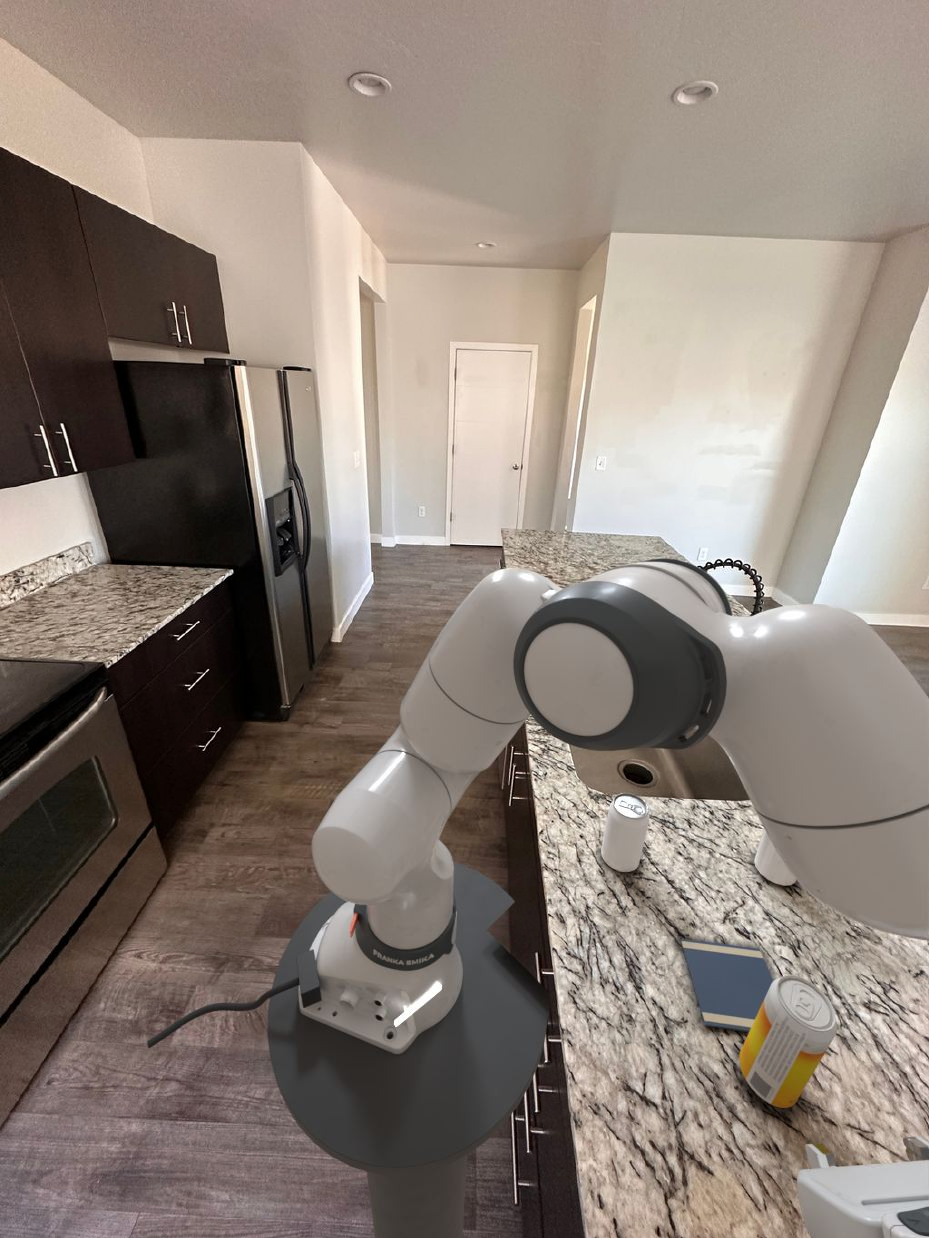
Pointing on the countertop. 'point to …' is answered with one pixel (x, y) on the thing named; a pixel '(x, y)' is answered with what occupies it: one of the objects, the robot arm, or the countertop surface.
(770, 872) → the cup
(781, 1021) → the beer can
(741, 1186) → the countertop surface
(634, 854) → the can
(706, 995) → the blue striped coaster
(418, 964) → the robot arm
